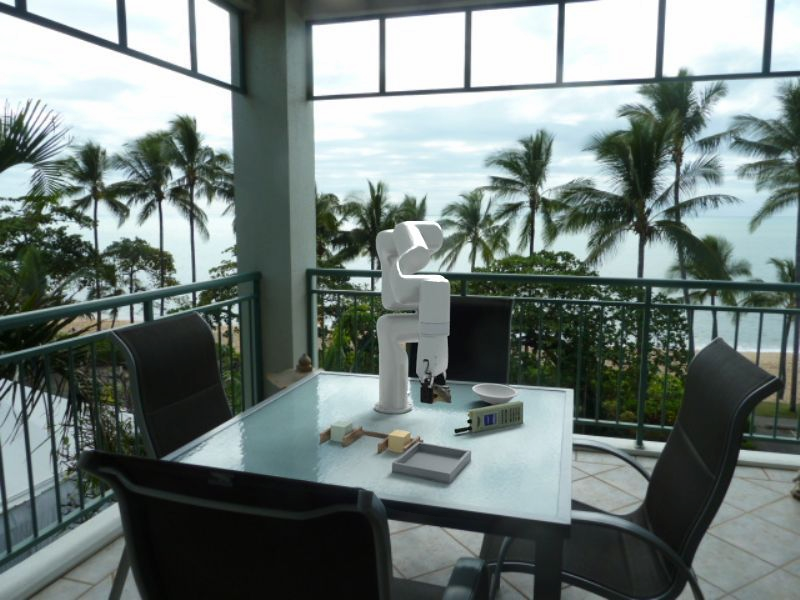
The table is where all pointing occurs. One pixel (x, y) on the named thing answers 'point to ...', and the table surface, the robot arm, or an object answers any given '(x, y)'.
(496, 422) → the handheld radio
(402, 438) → the ochre block
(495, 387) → the dish
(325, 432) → the rack
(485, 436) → the table surface
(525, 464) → the table surface
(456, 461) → the tray
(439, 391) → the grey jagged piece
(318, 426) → the table surface
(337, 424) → the sage block
